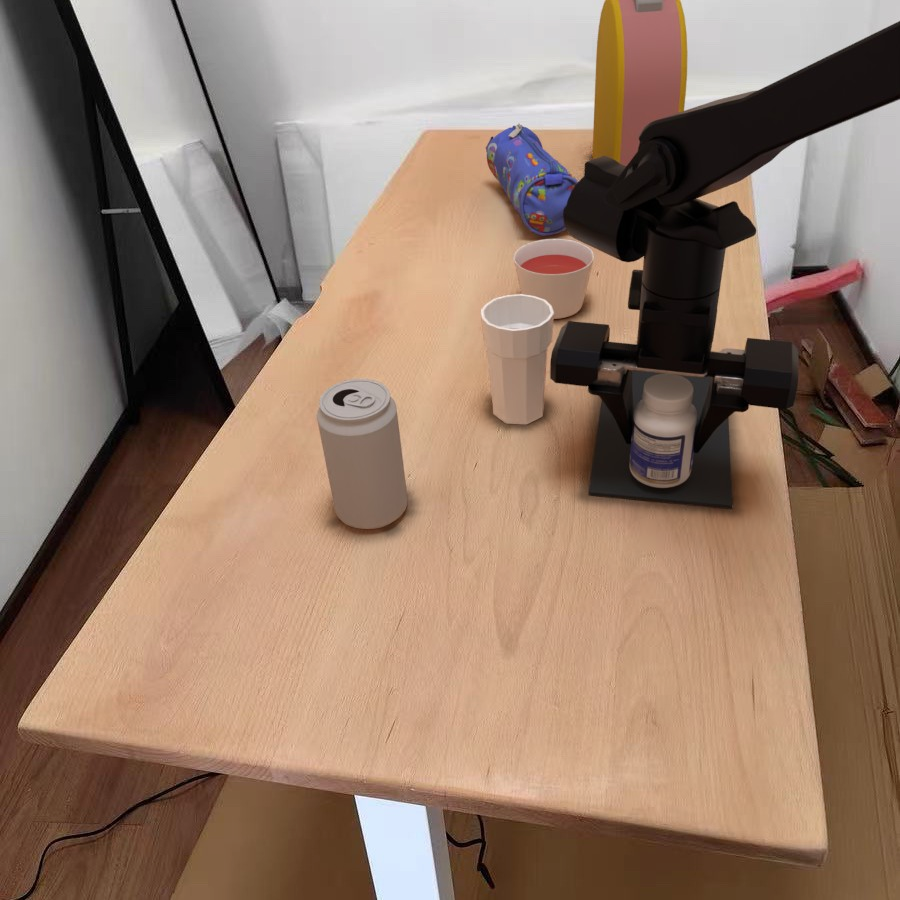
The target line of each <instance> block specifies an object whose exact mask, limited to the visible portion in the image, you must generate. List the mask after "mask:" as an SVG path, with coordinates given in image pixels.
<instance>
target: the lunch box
mask: <svg viewBox="0 0 900 900" xmlns="http://www.w3.org/2000/svg"><path fill="white" fill-rule="evenodd" d="M683 8H684V7H683V5H682V1H681V0H604V2H603V5H602V9H601V12H600V16H599V17H600V18H599V23H598V31H597V39H596V41H597V42H596V56H595V57H596V58H595V79H594V80H595V81H594V85H595V86H594V104H593V105H594V107H593V127H592V129H593V131H592V154H591V155H592V160H593V159H596V158H599V157H602V156H607V157H609V158H612V159H614V160H616V161H617V162H618V163H620V164H622V165H624V166H627V165H628V164H629V162H630V161H631V160H632V158H633V157H634V156H635V154H636V153H637V152H638V147H639V143H640V141H639V135H640V133H641V132H642V130H643V129H644V128H645V127H646V126H647V125H648V124H649V123H651V122H653V121H655V120H658V119H661V118H664V117H667V116H670V115H673V114H676V113H679V112H682V111H685V105H686V97H687V96H686V95H687V81H688V33H687V25H686V19H685V18H686V17H685V13H684V9H683Z"/></svg>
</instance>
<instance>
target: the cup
mask: <svg viewBox="0 0 900 900" xmlns="http://www.w3.org/2000/svg"><path fill="white" fill-rule="evenodd" d="M480 317H481V327H482V337H483V343H484V344H483V345H484V347H485V349H486V355H487V365H488V374H489V384H490V385H489V386H490V393H491V401H492V414H493V415H494V416H495V417H497V419H498V420H500V421H502V422H503V423H504V424H506V425H507V424H509V425H526V426H527V425H528V424H531V423H532V422H534V421H537V420H539V419H540V418H543V416H544V410H545V393H546V381H547V380H546V378H547V366H548V365H547V364H548V351H549V347H550V345H551V343H552V342H553V333H554V332H553V331H554V320H555V319H554V312H553V309H552V306H551V305H550V304H549V303H548V302H547V301H546V300H544V299H541V298H539V297H536V296H531V295H524V294H521V293H517V294H516V293H515V294H507V295H503V296H499V297H494V298H492V300H490V301H488V302H486V303H485V305H484V306H483V307H482V308H481V310H480Z"/></svg>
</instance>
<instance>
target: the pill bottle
mask: <svg viewBox="0 0 900 900" xmlns="http://www.w3.org/2000/svg"><path fill="white" fill-rule="evenodd" d="M692 400H693V385H692V384H691V382H690V381H689V380H687V379H686V378H684V377H682V376H679V375H674V374H658V375H654V376H652V377H650V378H648V379H647V380H646V381H645V383H644V387H643V394H642V400H641V401H640V402H639V403H638V404H637V405H636V407H635V409H634V414H633V425H632V438H631V452H630V471H631V473H632V475H633V476H634V477H635V478H636V479H637V480H638V481H640V482H641V483H643V484H645V485H648V486H651V487H656V488H669V487H674V486H677V485H679V484H681V483H683V482H684V481H686V480H687V478H688V477H689V475H690V473H691V468H692V461H693V454H694V453H693V450H694V442H695V437H696V432H697V425H698V413H697V410H696V408H695V407H694V405H693V404H692Z"/></svg>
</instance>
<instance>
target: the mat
mask: <svg viewBox="0 0 900 900" xmlns="http://www.w3.org/2000/svg"><path fill="white" fill-rule="evenodd" d="M658 374H664V373H655V372H646V371H637V370H633V371H632V389H633V409H635V407H636V405H637V404H638V403H639V402H640V401H641V400H642V394H643V387H644V383H645V381H646V380H647V379H648V378H650V377H652V376H654V375H658ZM679 376H682V377H684V378H686V379H687V380H689V381H690V382H691V384H692V385H693V400H692V404H693V405H694V407H695V408H696V410H697V413H698V422H699V419H700V416H701V413H702V409H703V406H704V403H705V399H706V396H707V393H708V389H709V385H710V381H711V377H708V376H707V377H705V378H702V377H692V376H683V375H679ZM600 403H601V405H600V411H599V416H598V417H599V418H598V425H597V431H596V439H595V445H594V452H593V460H592V467H591V473H590V480H589V485H588V493H587V494H588V496H594V497H604V498H614V499H625V500H636V501H646V502H655V503H657V502H658V503H665V504H678V505H687V506H699V507H706V508H707V507H709V508H720V509H728V510H729V509H730V510H731V509H733V505H734V502H733V483H732V482H733V481H732V465H731V464H732V461H731V444H730V443H731V442H730V439H731V438H730V420H729V419H730V418H729V417H728V418H727V419H726V420H725V421H724V422H723V423H722V424H721V425H720V426H719V427H718V428H717V429H716V430H715V431H714V432H713V434H712V435H711V436H710V438H709V439H708V440H707V442H706V443H705V444H704V446H703V447H702V448H701V450H700V451H699V452H698V453H694V454H693V461H692V468H691V473H690V475H689V477H688V478H687V480H686V481H684V482H683V483H681V484H679V485H677V486H674V487H669V488H656V487H651V486H648V485H645V484H643V483H641V482H640V481H638V480H637V479H636V478H635V477H634V476H633V475H632V473H631V471H630V452H631V445H630V444H626V442H625V440H624V438H623V435H622V433H621V431H620V429H619V427H618V425H617V423H616V421H615V419H614V417H613V415H612V414H611V412H610V411H609V409H608V408H607V406H606V405H605V403H604V402H603V401H602V400H601V402H600ZM697 426H698V425H697Z"/></svg>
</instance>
